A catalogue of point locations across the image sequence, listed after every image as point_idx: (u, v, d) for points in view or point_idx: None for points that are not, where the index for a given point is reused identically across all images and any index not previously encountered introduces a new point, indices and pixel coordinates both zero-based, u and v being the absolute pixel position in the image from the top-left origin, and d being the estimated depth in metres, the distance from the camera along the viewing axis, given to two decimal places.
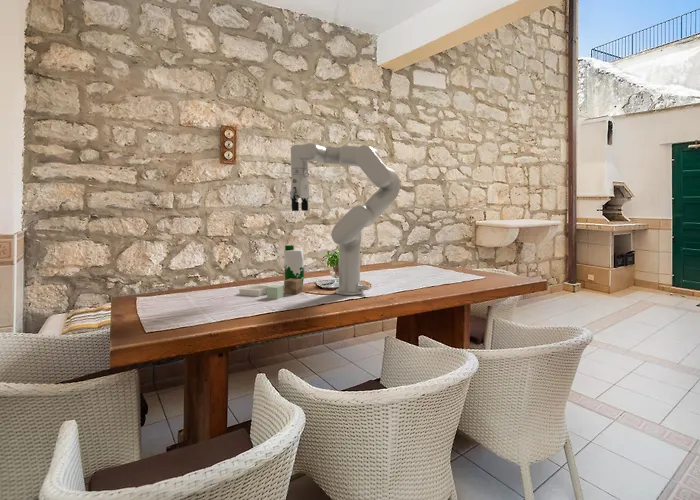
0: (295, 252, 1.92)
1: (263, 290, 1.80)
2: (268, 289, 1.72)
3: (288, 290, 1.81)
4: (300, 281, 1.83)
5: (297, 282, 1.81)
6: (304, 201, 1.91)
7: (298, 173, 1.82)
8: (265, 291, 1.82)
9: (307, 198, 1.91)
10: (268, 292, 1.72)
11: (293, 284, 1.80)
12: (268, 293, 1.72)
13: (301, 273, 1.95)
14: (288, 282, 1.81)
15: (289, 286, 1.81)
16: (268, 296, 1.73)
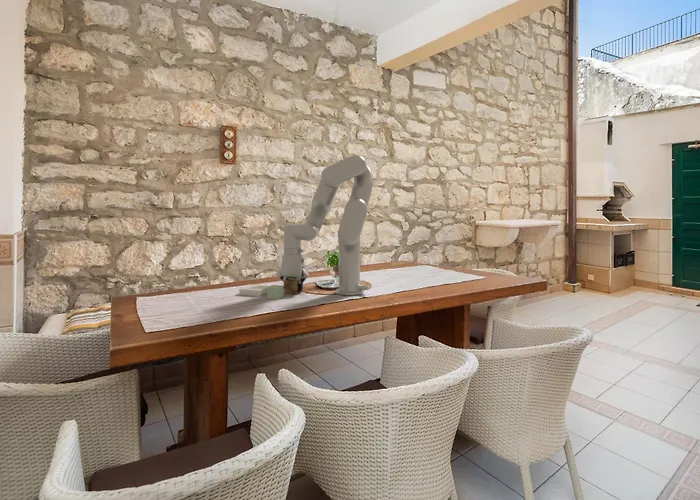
0: None
1: (263, 290, 1.80)
2: (268, 289, 1.72)
3: (288, 290, 1.81)
4: None
5: (297, 282, 1.81)
6: None
7: (300, 252, 1.82)
8: (265, 291, 1.82)
9: (286, 277, 1.86)
10: (268, 292, 1.72)
11: (293, 284, 1.80)
12: (268, 293, 1.72)
13: None
14: (288, 282, 1.81)
15: (289, 286, 1.81)
16: (268, 296, 1.73)
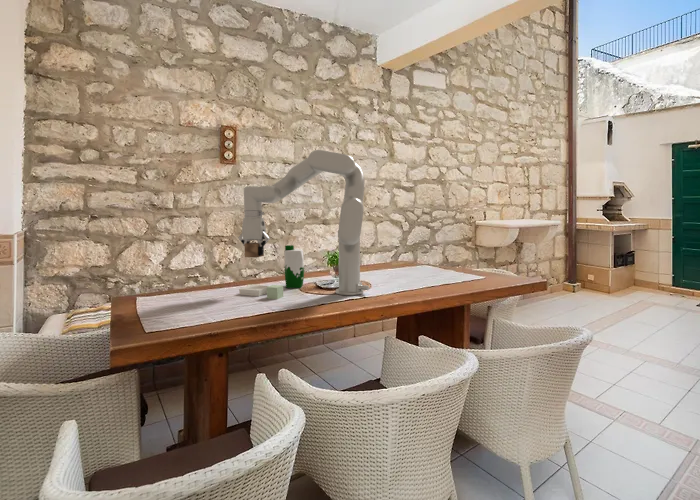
0: (295, 252, 1.92)
1: (263, 290, 1.80)
2: (268, 289, 1.72)
3: (248, 253, 1.79)
4: None
5: (257, 245, 1.78)
6: None
7: (261, 215, 1.80)
8: (265, 291, 1.82)
9: None
10: (268, 292, 1.72)
11: (253, 247, 1.78)
12: (268, 293, 1.72)
13: (301, 273, 1.95)
14: (248, 245, 1.78)
15: (249, 249, 1.79)
16: (268, 296, 1.73)
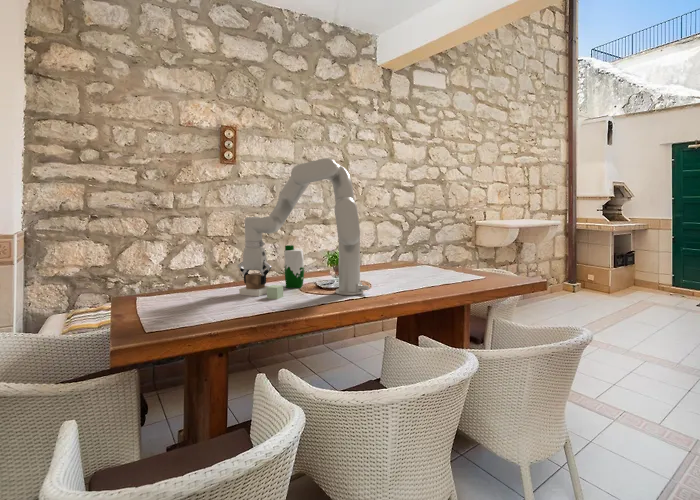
0: (295, 252, 1.92)
1: (263, 290, 1.80)
2: (268, 289, 1.72)
3: (250, 285, 1.80)
4: None
5: (258, 276, 1.80)
6: (247, 273, 1.84)
7: (262, 245, 1.81)
8: (265, 291, 1.82)
9: (247, 270, 1.85)
10: (268, 292, 1.72)
11: (255, 279, 1.79)
12: (268, 293, 1.72)
13: (301, 273, 1.95)
14: (249, 276, 1.80)
15: (250, 280, 1.80)
16: (268, 296, 1.73)
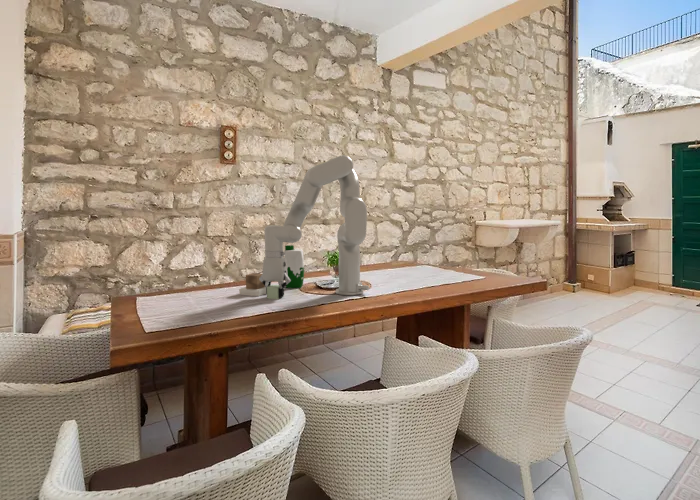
0: (295, 252, 1.92)
1: (263, 290, 1.80)
2: (268, 289, 1.72)
3: (250, 285, 1.80)
4: None
5: (258, 276, 1.80)
6: (269, 285, 1.75)
7: (283, 255, 1.72)
8: (265, 291, 1.82)
9: None
10: (268, 292, 1.72)
11: (255, 279, 1.79)
12: (268, 293, 1.72)
13: (301, 273, 1.95)
14: (249, 276, 1.80)
15: (250, 280, 1.80)
16: (268, 296, 1.73)
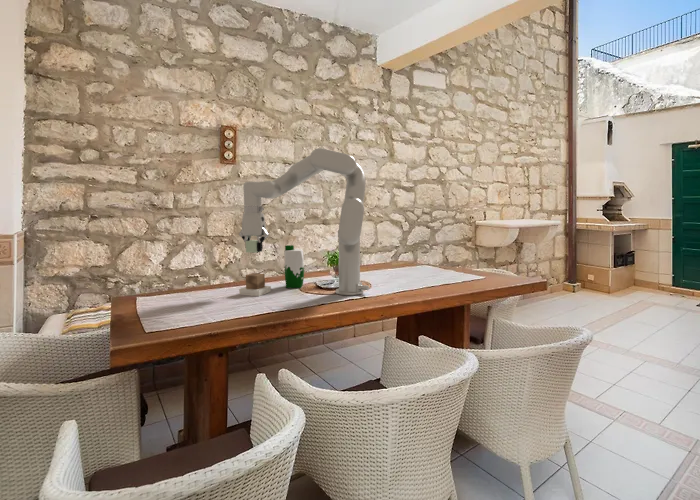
0: (295, 252, 1.92)
1: (263, 290, 1.80)
2: (247, 243, 1.79)
3: (250, 285, 1.80)
4: (262, 276, 1.83)
5: (258, 276, 1.80)
6: (248, 240, 1.82)
7: (261, 211, 1.79)
8: (265, 291, 1.82)
9: None
10: (247, 246, 1.79)
11: (255, 279, 1.79)
12: (247, 247, 1.79)
13: (301, 273, 1.95)
14: (249, 276, 1.80)
15: (250, 280, 1.80)
16: (247, 250, 1.79)
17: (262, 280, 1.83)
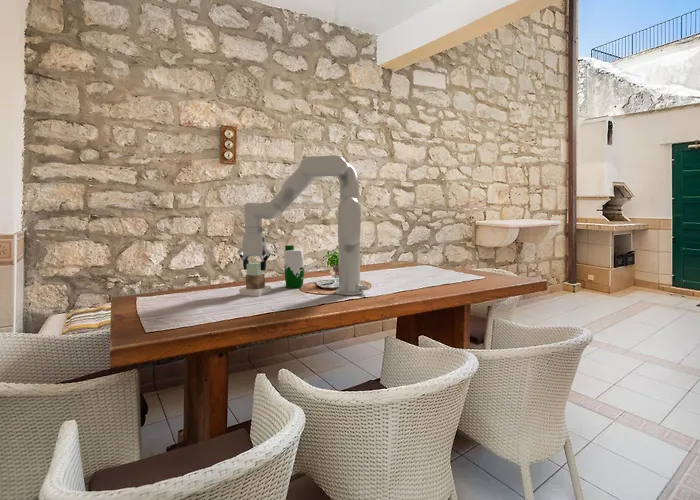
0: (295, 252, 1.92)
1: (263, 290, 1.80)
2: (248, 266, 1.80)
3: (250, 285, 1.80)
4: (262, 276, 1.83)
5: (258, 276, 1.80)
6: (246, 259, 1.83)
7: None
8: (265, 291, 1.82)
9: (246, 256, 1.85)
10: (248, 269, 1.80)
11: (255, 279, 1.79)
12: (248, 270, 1.80)
13: (301, 273, 1.95)
14: (249, 276, 1.80)
15: (250, 280, 1.80)
16: (248, 273, 1.81)
17: (262, 280, 1.83)
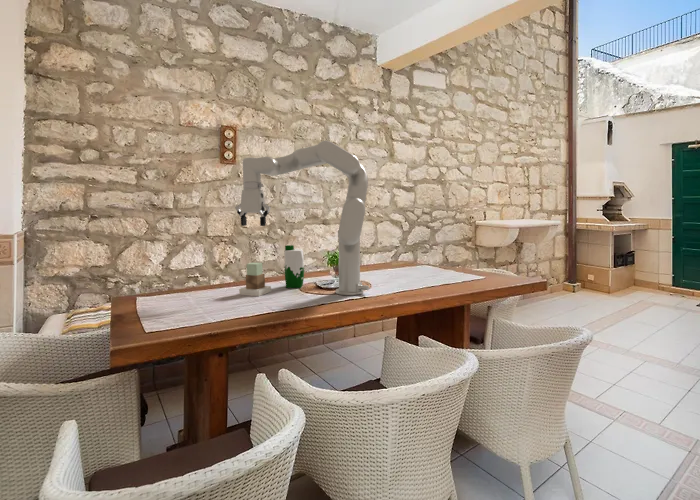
0: (295, 252, 1.92)
1: (263, 290, 1.80)
2: (248, 266, 1.80)
3: (250, 285, 1.80)
4: (262, 276, 1.83)
5: (258, 276, 1.80)
6: (244, 216, 1.81)
7: (260, 187, 1.78)
8: (265, 291, 1.82)
9: (244, 212, 1.83)
10: (248, 269, 1.80)
11: (255, 279, 1.79)
12: (248, 270, 1.80)
13: (301, 273, 1.95)
14: (249, 276, 1.80)
15: (250, 280, 1.80)
16: (248, 273, 1.81)
17: (262, 280, 1.83)
